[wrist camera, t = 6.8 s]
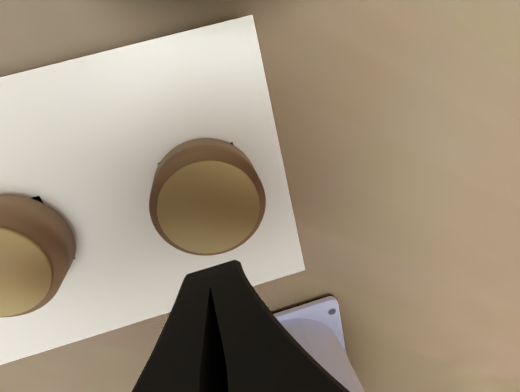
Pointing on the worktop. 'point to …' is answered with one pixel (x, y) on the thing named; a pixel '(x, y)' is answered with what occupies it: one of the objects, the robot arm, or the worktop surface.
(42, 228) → the knob middle
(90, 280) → the mount plate
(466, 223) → the worktop surface
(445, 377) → the worktop surface
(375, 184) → the worktop surface
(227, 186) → the knob
